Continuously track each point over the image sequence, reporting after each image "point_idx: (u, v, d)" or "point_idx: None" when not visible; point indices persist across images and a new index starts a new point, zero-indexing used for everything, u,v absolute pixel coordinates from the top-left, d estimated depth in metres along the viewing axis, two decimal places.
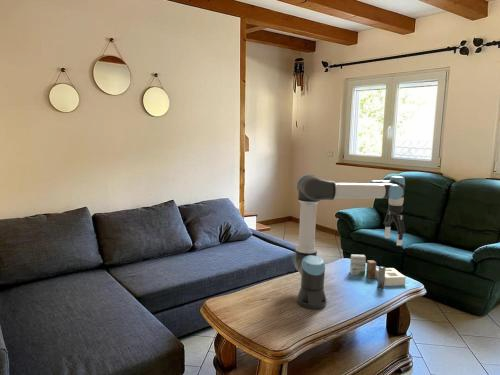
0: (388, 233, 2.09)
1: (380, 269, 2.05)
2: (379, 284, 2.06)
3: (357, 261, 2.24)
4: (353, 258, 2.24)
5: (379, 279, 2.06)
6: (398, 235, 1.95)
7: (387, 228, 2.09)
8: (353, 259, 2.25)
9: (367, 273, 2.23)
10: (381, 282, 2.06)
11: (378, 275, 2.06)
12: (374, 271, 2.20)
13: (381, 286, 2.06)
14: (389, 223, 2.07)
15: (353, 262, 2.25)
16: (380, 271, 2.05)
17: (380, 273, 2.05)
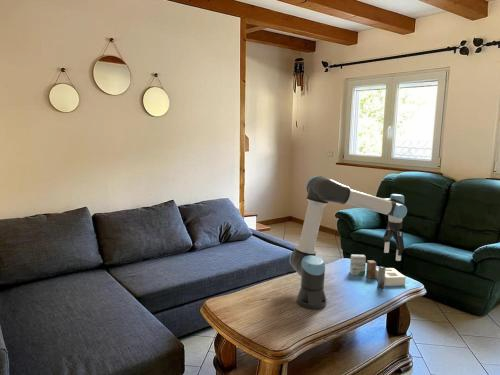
0: (387, 248, 2.18)
1: (380, 269, 2.05)
2: (379, 284, 2.06)
3: (357, 261, 2.24)
4: (353, 258, 2.24)
5: (379, 279, 2.06)
6: (397, 251, 2.04)
7: (386, 243, 2.17)
8: (353, 259, 2.24)
9: (367, 273, 2.23)
10: (381, 282, 2.06)
11: (378, 275, 2.06)
12: (374, 271, 2.20)
13: (381, 286, 2.06)
14: (388, 238, 2.16)
15: (353, 262, 2.25)
16: (380, 271, 2.05)
17: (380, 273, 2.05)
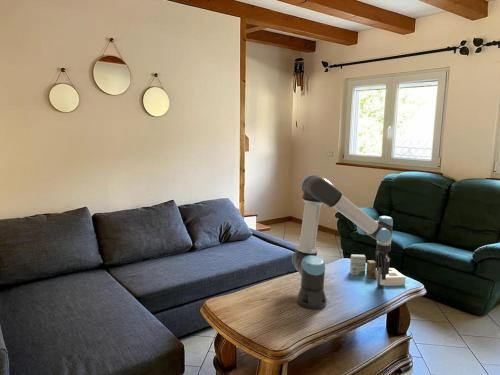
0: None
1: (380, 269, 2.05)
2: (379, 284, 2.06)
3: (357, 261, 2.24)
4: (353, 258, 2.24)
5: (379, 279, 2.06)
6: (381, 275, 2.04)
7: None
8: (353, 259, 2.25)
9: (367, 273, 2.23)
10: None
11: (378, 275, 2.06)
12: (374, 271, 2.20)
13: (381, 286, 2.06)
14: (380, 265, 2.08)
15: (353, 262, 2.25)
16: (380, 271, 2.05)
17: None
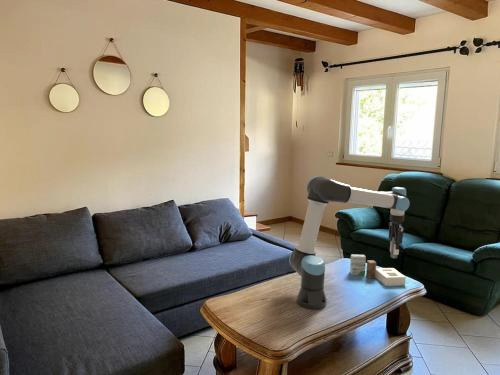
0: None
1: (394, 239, 2.10)
2: (392, 254, 2.11)
3: (358, 261, 2.24)
4: (353, 258, 2.24)
5: (392, 249, 2.11)
6: (395, 245, 2.09)
7: None
8: (353, 259, 2.24)
9: (367, 273, 2.23)
10: None
11: (391, 245, 2.11)
12: (374, 271, 2.20)
13: (394, 256, 2.11)
14: (393, 236, 2.13)
15: (353, 262, 2.25)
16: (394, 241, 2.10)
17: None
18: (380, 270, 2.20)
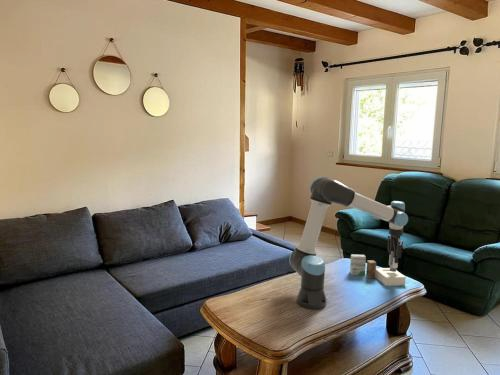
0: None
1: (392, 252, 2.11)
2: None
3: (357, 261, 2.24)
4: (353, 258, 2.24)
5: (391, 262, 2.12)
6: (394, 258, 2.10)
7: None
8: (353, 259, 2.25)
9: (367, 273, 2.23)
10: None
11: None
12: (374, 271, 2.20)
13: (393, 269, 2.12)
14: (392, 249, 2.14)
15: (353, 262, 2.25)
16: (392, 254, 2.11)
17: None
18: (380, 270, 2.20)
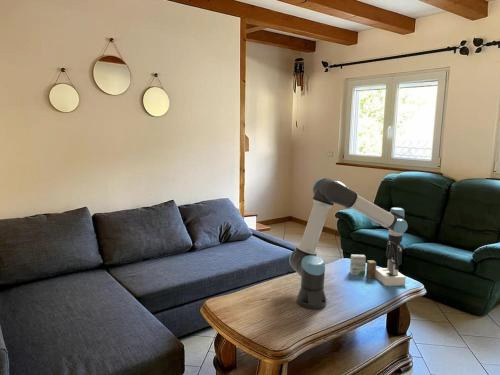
0: None
1: (391, 262, 2.13)
2: None
3: (357, 261, 2.24)
4: (353, 258, 2.24)
5: (390, 272, 2.13)
6: (394, 265, 2.10)
7: None
8: (353, 259, 2.25)
9: (367, 273, 2.23)
10: (392, 275, 2.13)
11: (389, 268, 2.14)
12: (374, 271, 2.20)
13: None
14: (391, 254, 2.16)
15: (353, 262, 2.25)
16: (391, 264, 2.13)
17: (391, 267, 2.13)
18: (380, 270, 2.20)
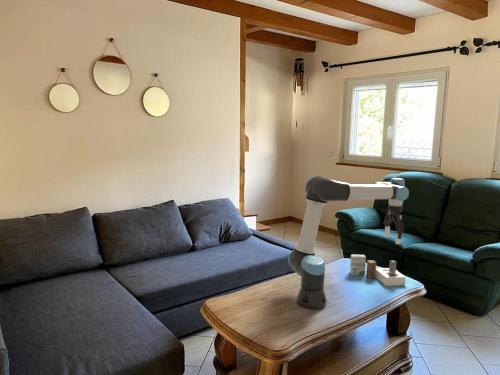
0: (388, 232, 2.19)
1: (391, 263, 2.12)
2: None
3: (357, 261, 2.24)
4: (353, 258, 2.24)
5: (390, 272, 2.13)
6: (397, 234, 2.05)
7: (387, 227, 2.18)
8: (353, 259, 2.24)
9: (367, 273, 2.23)
10: (392, 275, 2.13)
11: (389, 269, 2.14)
12: (374, 271, 2.20)
13: None
14: (389, 223, 2.17)
15: (353, 262, 2.25)
16: (391, 265, 2.12)
17: (392, 267, 2.12)
18: (380, 270, 2.20)
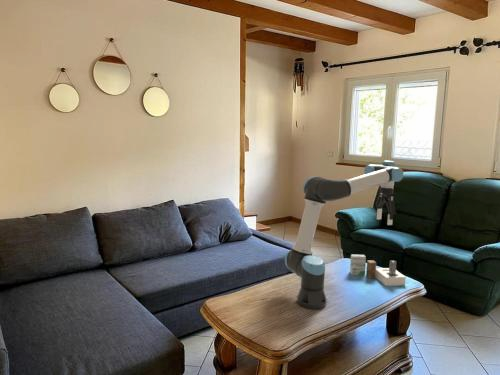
0: (380, 214, 2.24)
1: (391, 263, 2.12)
2: None
3: (357, 261, 2.24)
4: (353, 258, 2.24)
5: (390, 273, 2.13)
6: (389, 215, 2.10)
7: (379, 210, 2.23)
8: (353, 259, 2.25)
9: (367, 273, 2.23)
10: (392, 275, 2.13)
11: (389, 269, 2.14)
12: (374, 271, 2.20)
13: None
14: (381, 205, 2.22)
15: (353, 262, 2.25)
16: (391, 265, 2.12)
17: (391, 267, 2.12)
18: (380, 270, 2.20)
